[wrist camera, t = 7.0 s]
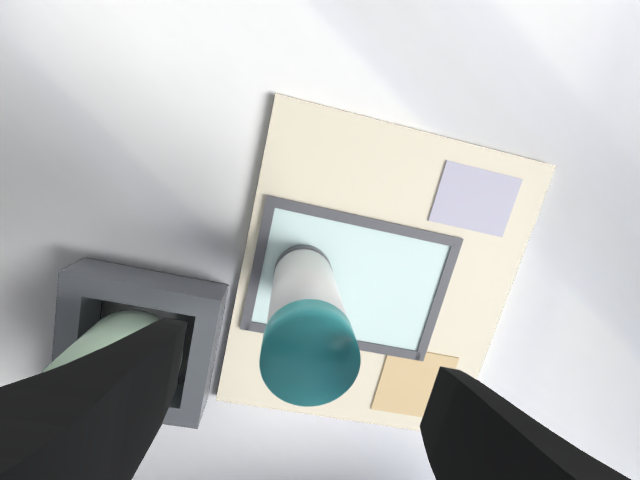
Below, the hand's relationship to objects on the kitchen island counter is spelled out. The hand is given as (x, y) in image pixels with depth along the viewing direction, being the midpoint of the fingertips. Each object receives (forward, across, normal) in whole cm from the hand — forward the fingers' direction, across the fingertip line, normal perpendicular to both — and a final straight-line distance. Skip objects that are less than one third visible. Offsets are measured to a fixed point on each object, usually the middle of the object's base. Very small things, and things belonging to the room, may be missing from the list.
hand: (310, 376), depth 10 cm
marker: (+8, 0, 0) cm, 8 cm away
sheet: (+9, -4, 0) cm, 10 cm away
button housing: (+9, +7, +5) cm, 12 cm away
